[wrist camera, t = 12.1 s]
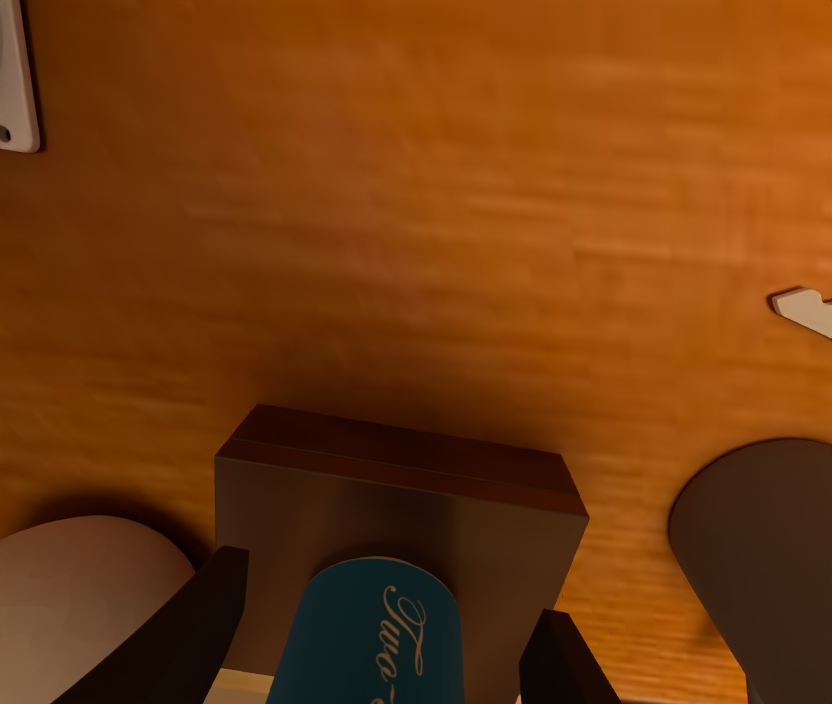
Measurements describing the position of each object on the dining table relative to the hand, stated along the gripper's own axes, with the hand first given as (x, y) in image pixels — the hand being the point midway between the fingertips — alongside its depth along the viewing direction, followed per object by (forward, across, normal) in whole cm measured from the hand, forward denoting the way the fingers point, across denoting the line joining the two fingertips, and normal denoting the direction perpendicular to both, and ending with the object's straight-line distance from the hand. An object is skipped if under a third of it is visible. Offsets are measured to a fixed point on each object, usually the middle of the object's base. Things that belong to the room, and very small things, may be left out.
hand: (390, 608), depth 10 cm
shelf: (+9, 0, +7) cm, 12 cm away
